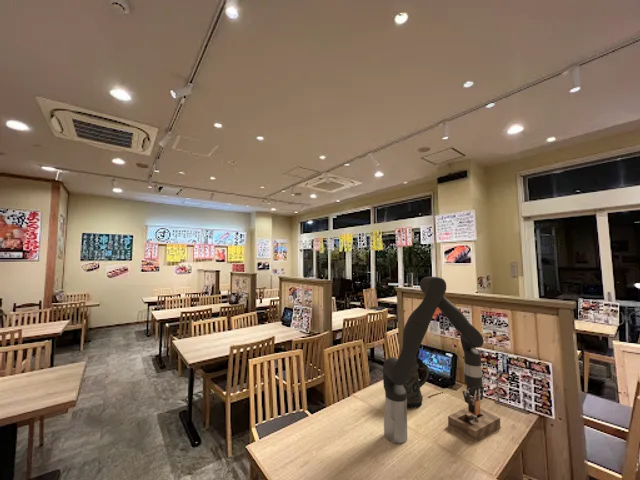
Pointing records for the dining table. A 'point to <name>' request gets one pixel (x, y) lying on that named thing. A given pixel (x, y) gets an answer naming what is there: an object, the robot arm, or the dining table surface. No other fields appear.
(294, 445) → the dining table surface
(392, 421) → the robot arm
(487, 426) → the keyhole plate
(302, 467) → the dining table surface
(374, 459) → the dining table surface
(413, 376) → the beer stein
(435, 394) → the axe
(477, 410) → the t peg
